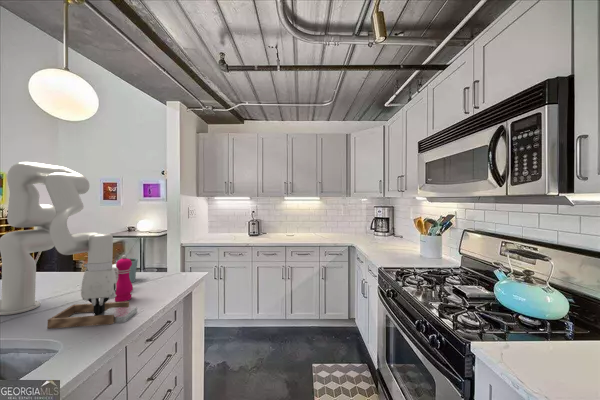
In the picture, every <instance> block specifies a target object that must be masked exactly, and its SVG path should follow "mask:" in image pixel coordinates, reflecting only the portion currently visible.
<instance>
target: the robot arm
mask: <svg viewBox="0 0 600 400" xmlns="http://www.w3.org/2000/svg"><path fill="white" fill-rule="evenodd" d="M6 175H7V176H6V179H7V185H8V192H9V196H8V207H7V216H6V217H7V218H6V219H7V223H8V225H9V226H11V227H14V228H33V227H34V228H36V227H37V228H36V229H25V230H14V231H10V232H7V233H5V234H3V235H2V236H1V237H0V257H1V289H0V290H1V293H0V294H1V295H0V296H1V297H0V316H10V315H15V314H16V315H17V314H21V313H25V312H28V311H29V312H30V311H32V310H34V309H36V308H39V307H40V305H41V301H39V300H36V288H37V287H36V286H37V285H36V284H37V282H36V280H37V278H36V277H37V263H36V260H35V258H33V257H32V255H31V254H32V253H37V252H45V251H48V250H51V249H53V248H55V250H57V252H58V253H59V254H61V255H64V256H70V255H76V254H81V253H87V262H86V263H84V264H83V268H86V270H85V271H84V274H83V278H82V282H81V289H80V297H81V298H82V301H86V302H89V303H90V304H92V305H93V306H94V312H93V314H94V315H93V316H98V315H99V314H101V313H103V312H104V311H105V303H108V302H109V301H110V300H115V297H116V296H117V295H116V294H115V292H116V276H115V271H114V269H113V268H112V265H113V255H114V254H113V252H114V251H113V250H114V247H113V246H114V245H113V244H114V237H113V235H112V234H111V233H99V232H94V231H90V232H89V231H88V232H78V233H77V232H76V233H70V230H69V228H68V219H69V217H71V216H74V215H76V214H78V213H80V212H81V211H82V210H83V209H84V208H85V205H84V203H83V201H82V199H81V196H80V195H84V194H86V193H87V192H88V191H89V190H90V181H89V179H87V177H86V176H84V175H83V174H81V173H79V172H76V171H74V170H72V169H70V168H67V167H65V166H61V165H54V164H48V163H47V164H46V163H41V162H32V161H21V162H17V163H14V164H13V165H11V167H10V168H9V169H8V171H7V174H6ZM35 185H43V186H45V188H46V192H47V193H48V195H49V196H48V197H49V198H50V201H51V202H52V204H48V203H47V204H46V203H40V192H39V189H37V187H36V186H35Z"/></svg>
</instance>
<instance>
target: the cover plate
mask: <svg viewBox="0 0 600 400" xmlns="http://www.w3.org/2000/svg"><path fill="white" fill-rule="evenodd" d="M137 313H138V307H137V306H129V307H116V308H109V309H107V310H106V311H104V312H103V313H101V314H99V315H114V323H117V324H118V323H119V324H120V323H122V324H123V323H125V322H127V321H128V320H129V319H130V318H131V317H133V316H134V315H136V314H137ZM114 323H113V324H114Z"/></svg>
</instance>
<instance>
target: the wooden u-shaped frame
mask: <svg viewBox="0 0 600 400" xmlns="http://www.w3.org/2000/svg"><path fill="white" fill-rule="evenodd" d="M116 307H130V301H123V302H116V301H114V302H106V303H105V311H106V310H107V309H109V308H116ZM79 313H81V314H82V313H94V306H93V305H92V303H80V304H72V305H70V306H69V307H67V308H65V309H64V310H62V311H60V312H59V313H56V314H55V315H53V316H52V317H50V318H48V319H47V327H46V328H47V329H60V328H74V327H87V326H88V327H89V326H101V325H103V326H104V325H113V324H114V315H98V316H94V315H87V316H86V315H85V316H84V315H83V316H72V315H74V314H79Z"/></svg>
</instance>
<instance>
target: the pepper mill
mask: <svg viewBox="0 0 600 400" xmlns="http://www.w3.org/2000/svg"><path fill="white" fill-rule="evenodd" d="M128 258H129V257H128ZM128 258H127V255H126V254H123V255H121V258H120V260H119V259H117V260H118V261H117V263H116V262H115V264H116V267H117V268H118V270H117V273H118V281H117V283H116V292H115V294H116V297H115V298H114V302H129V301H130V300H131V299H132V298H133V297H132V292H133V291H134V290H133V289H134V286H133V282H132V283H131V281H130V278H129V272H130V267H131V266H132V261H131V260H130V259H128Z"/></svg>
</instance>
